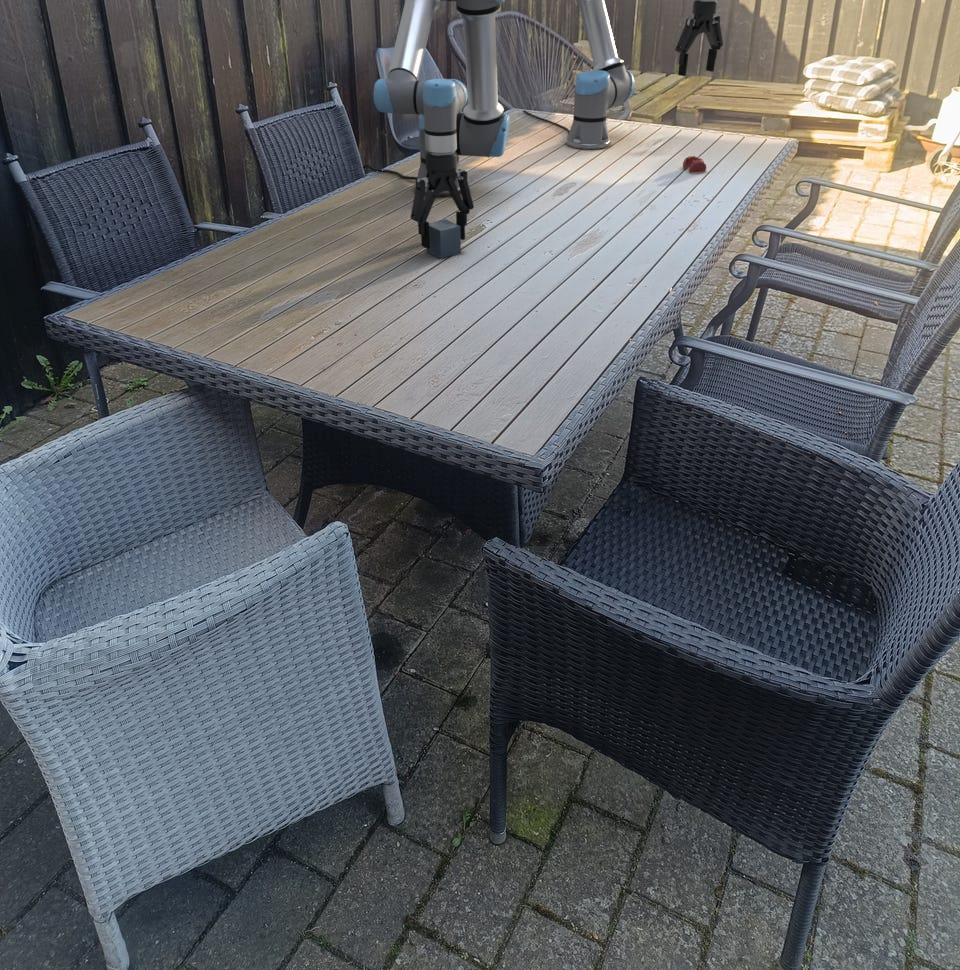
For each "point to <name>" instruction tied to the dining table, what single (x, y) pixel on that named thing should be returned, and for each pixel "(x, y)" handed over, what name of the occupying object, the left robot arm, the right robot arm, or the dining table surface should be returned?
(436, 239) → the cube
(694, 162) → the dark red rounded lump
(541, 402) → the dining table surface
